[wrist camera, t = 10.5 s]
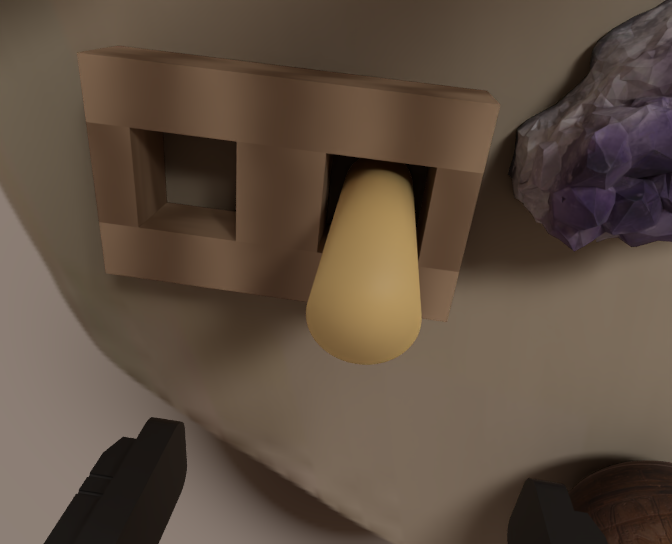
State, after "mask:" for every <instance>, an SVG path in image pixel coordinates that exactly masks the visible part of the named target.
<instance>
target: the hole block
mask: <svg viewBox="0 0 672 544" xmlns="http://www.w3.org/2000/svg"><path fill="white" fill-rule="evenodd" d="M77 56H78V64H79V72H80V79H81V87H82V95H83V102H84V110H85V118H86V125H87V133H88V140H89V148H90V156H91V163H92V171H93V179H94V186H95V194H96V202H97V209H98V217H99V225H100V232H101V240H102V248H103V255H104V263H105V271H106V273H109V274H116V275H123V276H130V277H136V278H143V279H150V280H157V281H164V282H171V283H178V284H185V285H192V286H199V287H206V288H213V289H220V290H227V291H234V292H241V293H248V294H255V295H262V296H269V297H276V298H283V299H290V300H297V301H303V302H308V299H309V296H310V293H311V289H312V286H313V283H314V280H315V276H316V273H317V270H318V266H319V263H320V260H321V256H322V253H323V250H324V247H325V243H326V240H327V237H328V233H329V230H330V227H331V225H330V224H326V219H327V209H328V199H329V188H330V178H331V168H332V158H333V154H337V155H345V156H352V157H360V158H368V159H375V160H383V161H391V162H398V163H406V164H414V165H422V166H429V168H428V173H427V178H426V184H425V189H424V194H423V199H422V204H421V210H420V215H419V220H418V225H417V230H416V239H417V254H418V269H419V285H420V300H421V318H422V319H429V320H436V321H443V322H447V320H448V316H449V312H450V308H451V303H452V299H453V295H454V291H455V287H456V283H457V279H458V275H459V271H460V267H461V263H462V259H463V255H464V251H465V247H466V243H467V239H468V234H469V230H470V226H471V222H472V218H473V214H474V210H475V206H476V202H477V198H478V194H479V190H480V186H481V182H482V178H483V174H484V170H485V165H486V161H487V157H488V153H489V149H490V145H491V141H492V137H493V133H494V129H495V125H496V121H497V117H498V113H499V109H500V104H499V103H498V102H497V101H496V100H495V99H494V98H493V97H492V95H491V94H490V93H489V92H488V91H484V90H476V89H467V88H459V87H451V86H443V85H435V84H427V83H418V82H410V81H402V80H394V79H386V78H378V77H369V76H361V75H353V74H345V73H337V72H329V71H320V70H312V69H304V68H296V67H288V66H280V65H271V64H263V63H255V62H247V61H239V60H231V59H222V58H214V57H206V56H198V55H190V54H182V53H173V52H165V51H157V50H149V49H141V48H133V47H124V46H113V47H107V48H101V49H95V50H89V51H83V52H77ZM163 132H167V133H175V134H183V135H191V136H198V137H206V138H214V139H221V140H229V141H237V163H236V212H234V211H227V210H220V209H212V208H205V207H198V206H190V205H183V204H176V203H168V202H167V193H166V177H165V160H164V144H163Z"/></svg>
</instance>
